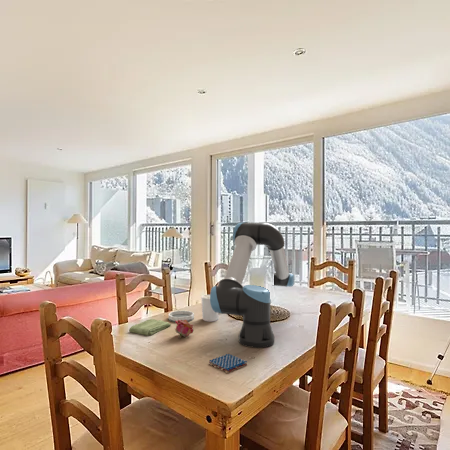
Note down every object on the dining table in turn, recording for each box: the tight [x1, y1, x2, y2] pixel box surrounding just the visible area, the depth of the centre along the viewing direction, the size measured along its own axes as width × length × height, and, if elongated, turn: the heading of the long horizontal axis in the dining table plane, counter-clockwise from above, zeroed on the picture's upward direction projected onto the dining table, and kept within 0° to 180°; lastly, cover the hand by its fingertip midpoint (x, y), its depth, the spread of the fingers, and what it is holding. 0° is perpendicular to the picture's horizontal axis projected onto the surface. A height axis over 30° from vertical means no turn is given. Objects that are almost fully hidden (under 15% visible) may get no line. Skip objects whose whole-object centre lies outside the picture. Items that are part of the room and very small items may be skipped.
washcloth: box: [128, 318, 172, 337], centre depth 158 cm, size 13×18×3 cm
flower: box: [174, 320, 194, 339], centre depth 147 cm, size 10×9×8 cm
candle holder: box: [200, 294, 220, 322], centre depth 175 cm, size 10×10×12 cm
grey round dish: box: [168, 309, 195, 323], centre depth 176 cm, size 13×13×3 cm
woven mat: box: [208, 353, 248, 374], centre depth 119 cm, size 10×11×2 cm
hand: (224, 302), depth 181 cm, fingers open, 13 cm apart
